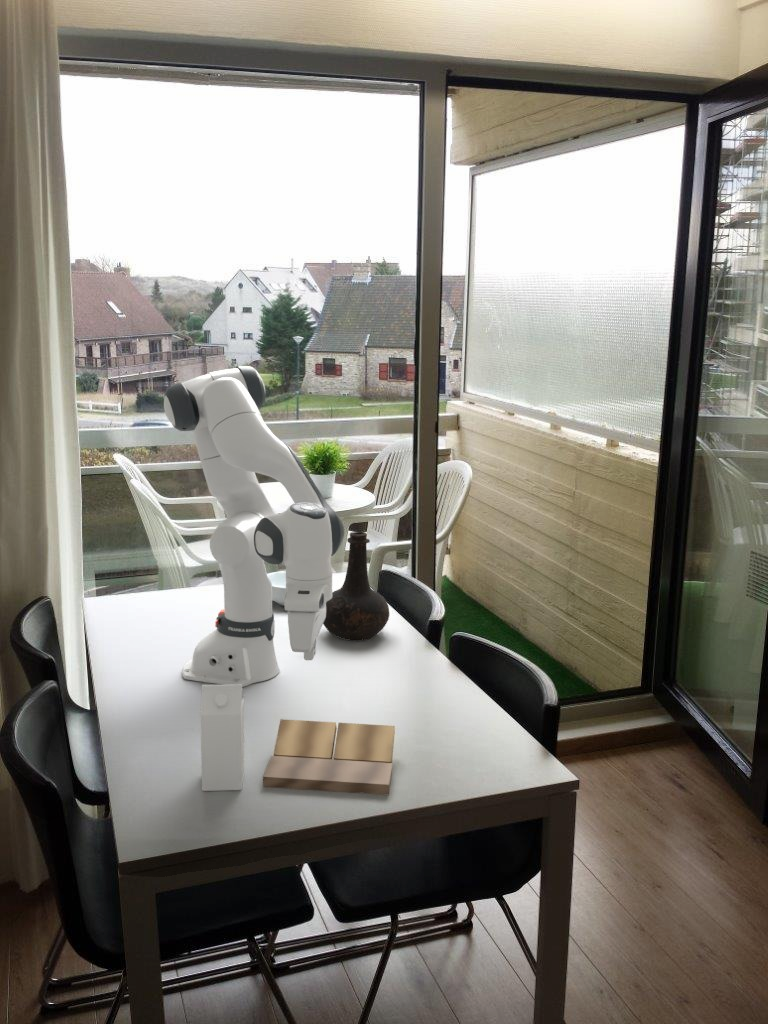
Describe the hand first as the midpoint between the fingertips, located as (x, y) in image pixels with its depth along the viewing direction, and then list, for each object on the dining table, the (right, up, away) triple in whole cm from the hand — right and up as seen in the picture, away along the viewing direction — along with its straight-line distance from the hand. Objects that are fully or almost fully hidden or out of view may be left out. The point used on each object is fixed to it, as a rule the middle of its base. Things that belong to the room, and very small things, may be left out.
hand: (309, 657), depth 180 cm
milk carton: (-15, -22, -9) cm, 28 cm away
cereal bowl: (-13, +2, +93) cm, 94 cm away
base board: (+4, -22, -7) cm, 23 cm away
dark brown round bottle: (+7, -5, +67) cm, 68 cm away
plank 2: (+11, -18, +1) cm, 20 cm away
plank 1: (-1, -17, +1) cm, 17 cm away
